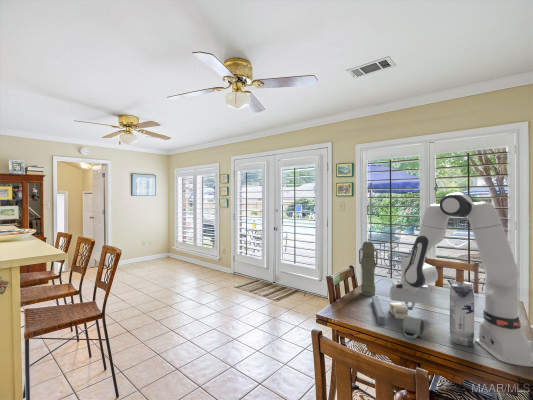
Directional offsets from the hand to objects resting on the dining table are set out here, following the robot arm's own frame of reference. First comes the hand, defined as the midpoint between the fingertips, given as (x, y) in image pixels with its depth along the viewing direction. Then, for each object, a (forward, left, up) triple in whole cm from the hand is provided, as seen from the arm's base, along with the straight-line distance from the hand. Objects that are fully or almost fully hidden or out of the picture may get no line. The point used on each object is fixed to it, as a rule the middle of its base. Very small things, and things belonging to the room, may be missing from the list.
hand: (409, 309), depth 151 cm
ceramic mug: (-23, +4, -4) cm, 23 cm away
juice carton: (-23, -16, -3) cm, 28 cm away
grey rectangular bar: (0, +16, -3) cm, 17 cm away
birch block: (0, +6, -4) cm, 7 cm away
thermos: (+29, +19, -3) cm, 35 cm away
